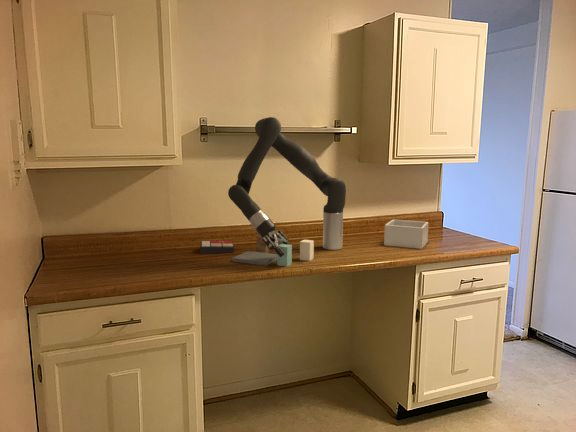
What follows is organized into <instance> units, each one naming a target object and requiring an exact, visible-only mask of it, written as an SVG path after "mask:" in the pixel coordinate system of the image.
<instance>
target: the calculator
mask: <svg viewBox="0 0 576 432" xmlns="http://www.w3.org/2000/svg"><path fill="white" fill-rule="evenodd" d="M234 253H235V244H234V242H233V241H232V240H211V241H210V240H207V241H206V240H202V241H200V254H201V255H210V254H234Z"/></svg>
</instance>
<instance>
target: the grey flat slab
mask: <svg viewBox="0 0 576 432" xmlns="http://www.w3.org/2000/svg"><path fill="white" fill-rule="evenodd" d="M231 259H232V261H231V262H234V263H241V264H250V265H257V266H265V267H266V266H268V265H270V264H272V263H273V262H274V263H275V262H276V261H277V253H271V252H270V253H263V252H257V251H254V250H253V251H252V250H247V251H245V252H243V253H241V254H238V255H235V256H234V257H231Z"/></svg>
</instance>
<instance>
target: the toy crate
mask: <svg viewBox="0 0 576 432" xmlns="http://www.w3.org/2000/svg"><path fill="white" fill-rule="evenodd" d="M383 238H384V239H383V241H384V242H383V246H388V247H399V248H409V249H419V250H422V249H423V248H424V247H425V245H427V243H428V241H429V240H428V238H429V221H420V220H419V221H418V220H417V221H416V220H406V219H405V220H404V219H403V220H402V219H392V220H390V221H388V222H387V223H386V224H384V237H383Z"/></svg>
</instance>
